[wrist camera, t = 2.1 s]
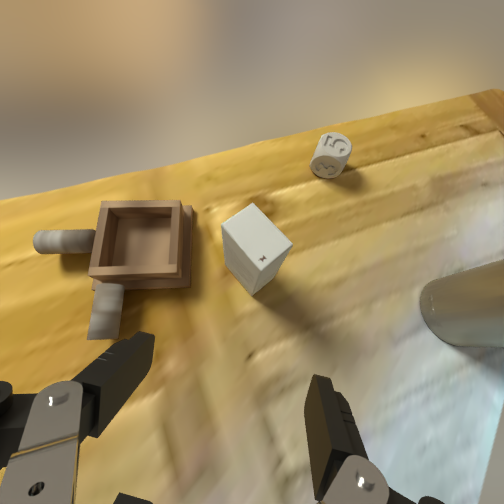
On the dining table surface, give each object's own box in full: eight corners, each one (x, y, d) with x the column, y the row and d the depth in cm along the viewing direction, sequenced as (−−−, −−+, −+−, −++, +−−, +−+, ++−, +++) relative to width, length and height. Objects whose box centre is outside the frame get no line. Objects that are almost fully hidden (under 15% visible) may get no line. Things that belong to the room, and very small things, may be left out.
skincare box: (274, 277, 33) (295, 245, 22) (251, 297, 32) (261, 273, 21) (246, 246, 34) (253, 200, 23) (223, 263, 33) (218, 224, 22)
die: (314, 151, 42) (324, 127, 37) (341, 161, 42) (355, 138, 37) (306, 172, 40) (316, 150, 35) (334, 182, 40) (348, 161, 35)
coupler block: (192, 209, 36) (188, 193, 32) (188, 334, 30) (182, 333, 26) (66, 210, 34) (45, 194, 31) (33, 344, 28) (3, 344, 24)
